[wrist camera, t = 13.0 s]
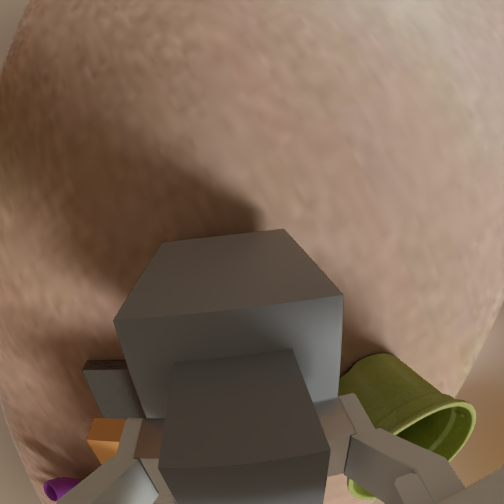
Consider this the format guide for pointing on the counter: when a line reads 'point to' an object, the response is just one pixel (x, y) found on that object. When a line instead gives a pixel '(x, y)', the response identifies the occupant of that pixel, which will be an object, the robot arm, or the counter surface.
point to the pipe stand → (117, 396)
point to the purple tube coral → (59, 487)
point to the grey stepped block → (236, 366)
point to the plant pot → (407, 408)
